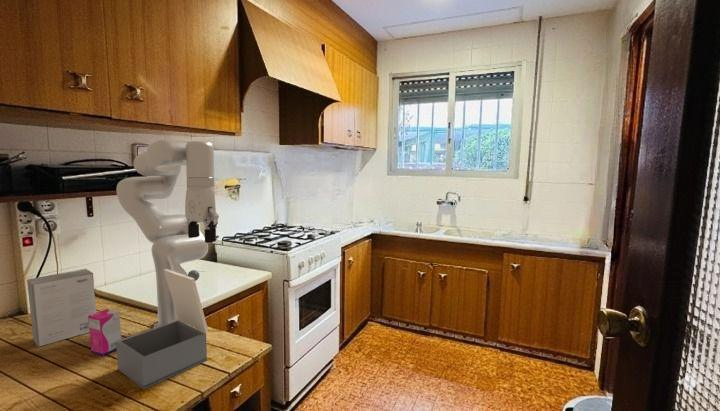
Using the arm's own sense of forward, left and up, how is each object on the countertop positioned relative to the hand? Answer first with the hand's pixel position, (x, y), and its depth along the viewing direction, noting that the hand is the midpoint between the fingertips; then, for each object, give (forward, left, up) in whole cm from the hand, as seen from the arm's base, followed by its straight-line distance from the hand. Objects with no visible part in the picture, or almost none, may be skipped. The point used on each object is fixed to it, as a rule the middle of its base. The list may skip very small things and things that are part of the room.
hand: (201, 239), depth 110 cm
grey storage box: (+2, -14, -33) cm, 36 cm away
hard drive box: (-41, -24, -33) cm, 58 cm away
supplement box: (-20, -20, -33) cm, 44 cm away
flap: (+2, -7, -17) cm, 18 cm away
